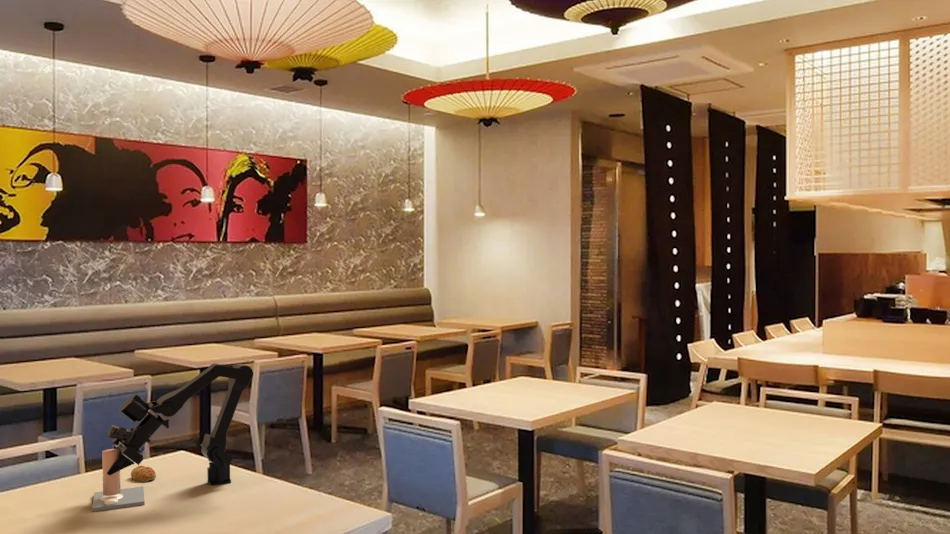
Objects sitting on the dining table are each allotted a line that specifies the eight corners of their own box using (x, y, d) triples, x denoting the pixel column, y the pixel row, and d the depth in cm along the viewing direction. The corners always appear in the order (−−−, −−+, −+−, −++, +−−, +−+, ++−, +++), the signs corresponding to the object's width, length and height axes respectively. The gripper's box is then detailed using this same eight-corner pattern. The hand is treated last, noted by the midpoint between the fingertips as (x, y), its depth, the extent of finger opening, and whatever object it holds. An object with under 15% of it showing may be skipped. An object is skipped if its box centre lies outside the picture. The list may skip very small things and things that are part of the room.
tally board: (143, 489, 243) (143, 483, 243) (144, 504, 228) (144, 498, 228) (94, 495, 237) (94, 489, 237) (92, 511, 223) (92, 504, 223)
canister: (123, 490, 234) (122, 448, 234) (116, 495, 230) (115, 452, 229) (107, 490, 234) (106, 448, 234) (100, 496, 229) (99, 453, 229)
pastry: (161, 479, 254) (161, 468, 254) (141, 484, 249) (141, 472, 249) (147, 474, 260) (147, 463, 260) (128, 479, 255) (127, 467, 255)
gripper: (118, 410, 241) (80, 450, 235) (130, 420, 226) (90, 464, 220) (145, 431, 246) (108, 471, 240) (159, 442, 231) (120, 486, 225)
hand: (106, 472), depth 231 cm, fingers closed on canister, 5 cm apart
